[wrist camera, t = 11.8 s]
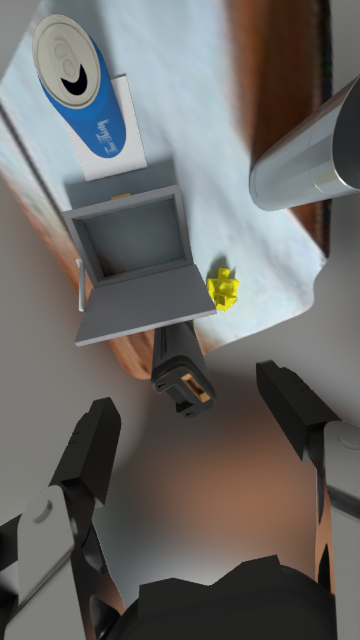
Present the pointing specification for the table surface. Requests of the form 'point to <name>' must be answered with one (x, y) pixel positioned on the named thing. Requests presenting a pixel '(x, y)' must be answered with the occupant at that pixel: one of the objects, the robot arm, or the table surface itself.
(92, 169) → the pad
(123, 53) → the table surface
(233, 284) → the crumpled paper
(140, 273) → the case
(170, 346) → the electronic device
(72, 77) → the beverage can
